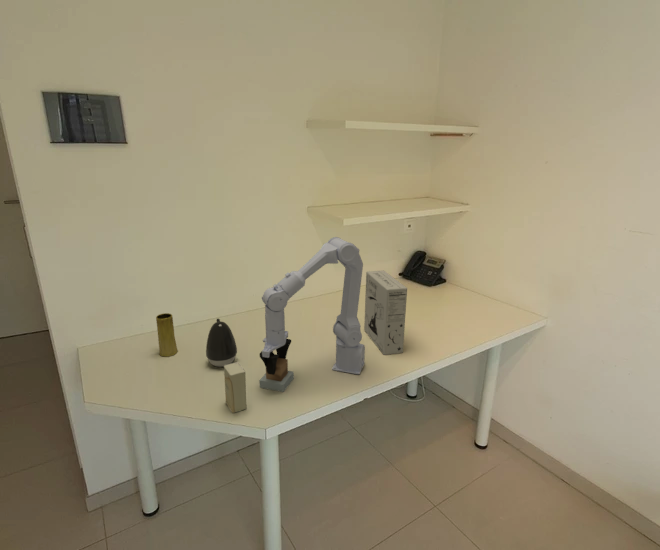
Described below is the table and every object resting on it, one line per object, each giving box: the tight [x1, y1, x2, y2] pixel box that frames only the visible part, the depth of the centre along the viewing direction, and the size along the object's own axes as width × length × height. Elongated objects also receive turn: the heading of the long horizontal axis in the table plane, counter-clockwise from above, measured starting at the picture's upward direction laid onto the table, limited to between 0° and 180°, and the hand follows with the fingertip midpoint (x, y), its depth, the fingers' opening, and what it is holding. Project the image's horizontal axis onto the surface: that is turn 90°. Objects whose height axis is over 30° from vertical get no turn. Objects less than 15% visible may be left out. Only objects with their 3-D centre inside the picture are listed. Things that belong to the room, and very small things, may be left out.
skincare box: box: [223, 361, 247, 414], centre depth 114 cm, size 6×4×12 cm
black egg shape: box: [205, 318, 238, 368], centre depth 137 cm, size 10×10×15 cm
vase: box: [155, 312, 179, 357], centre depth 144 cm, size 6×6×14 cm
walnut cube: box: [265, 358, 289, 382], centre depth 126 cm, size 5×5×5 cm
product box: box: [363, 270, 408, 356], centre depth 153 cm, size 22×8×25 cm, turn 14°
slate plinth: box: [258, 370, 295, 393], centre depth 127 cm, size 8×8×3 cm
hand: (276, 367), depth 126 cm, fingers open, 7 cm apart
